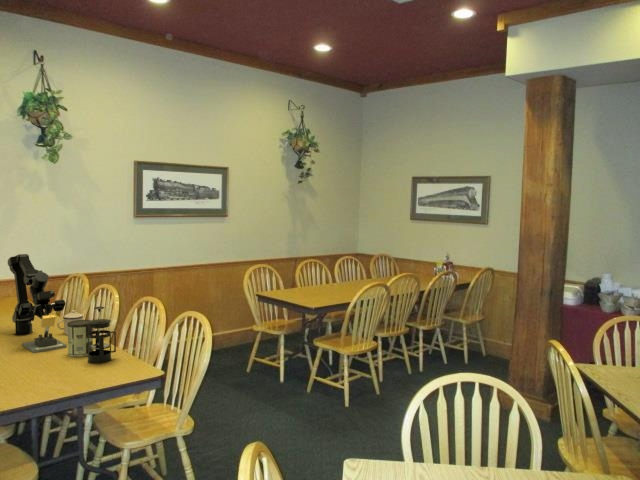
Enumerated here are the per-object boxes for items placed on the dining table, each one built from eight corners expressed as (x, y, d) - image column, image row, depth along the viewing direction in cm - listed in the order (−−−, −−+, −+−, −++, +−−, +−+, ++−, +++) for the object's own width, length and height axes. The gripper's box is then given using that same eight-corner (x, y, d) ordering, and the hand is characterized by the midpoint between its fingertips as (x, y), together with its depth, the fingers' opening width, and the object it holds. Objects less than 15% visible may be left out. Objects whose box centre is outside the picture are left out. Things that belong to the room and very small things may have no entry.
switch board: (22, 345, 246) (21, 332, 245) (54, 340, 256) (54, 328, 255) (33, 353, 234) (33, 339, 234) (66, 347, 244) (66, 334, 244)
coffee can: (87, 349, 243) (86, 318, 242) (97, 353, 236) (96, 322, 235) (63, 353, 235) (63, 321, 234) (73, 358, 228) (73, 326, 227)
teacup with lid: (82, 330, 276) (81, 308, 275) (84, 334, 268) (84, 311, 267) (56, 332, 270) (56, 310, 269) (58, 337, 262) (57, 313, 261)
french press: (87, 365, 220) (87, 310, 218) (84, 359, 227) (83, 306, 226) (117, 361, 226) (117, 307, 224) (113, 355, 234) (113, 303, 232)
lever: (39, 335, 242) (42, 315, 238) (50, 334, 245) (54, 314, 241) (40, 338, 241) (43, 318, 237) (52, 336, 244) (55, 316, 240)
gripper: (19, 286, 237) (28, 314, 230) (63, 282, 250) (73, 309, 243) (15, 301, 243) (22, 329, 236) (58, 296, 256) (66, 323, 249)
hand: (47, 322), depth 241 cm, fingers closed, pressing on lever
